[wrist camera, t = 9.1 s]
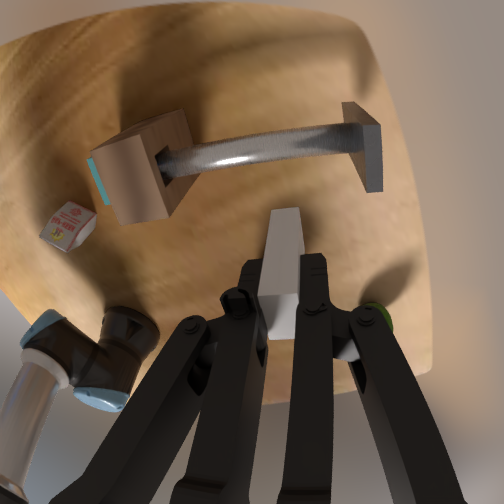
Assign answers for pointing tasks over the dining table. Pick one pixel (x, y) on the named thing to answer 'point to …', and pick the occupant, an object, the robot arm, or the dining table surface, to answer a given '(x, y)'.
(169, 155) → the shaft
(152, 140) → the bearing block
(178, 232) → the dining table surface
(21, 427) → the robot arm
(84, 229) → the white paper food packet
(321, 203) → the dining table surface
